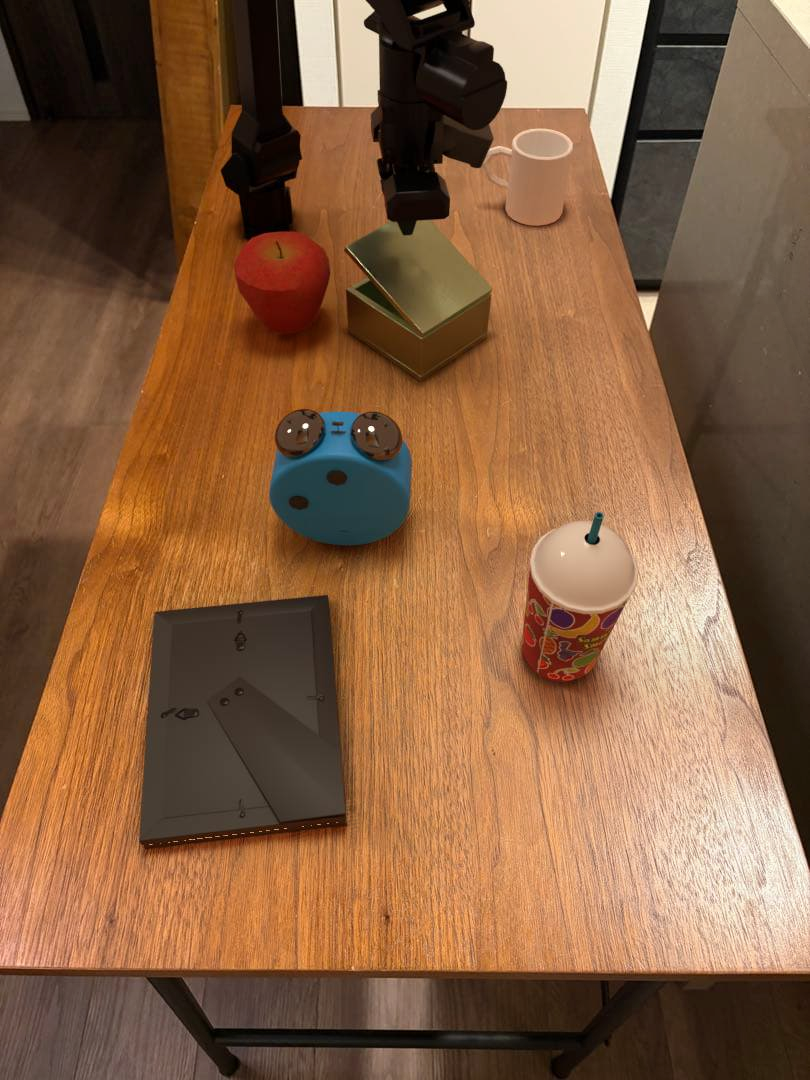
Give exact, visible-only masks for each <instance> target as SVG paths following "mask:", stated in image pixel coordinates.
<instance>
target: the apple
mask: <svg viewBox="0 0 810 1080" xmlns="http://www.w3.org/2000/svg"><path fill="white" fill-rule="evenodd" d="M233 269H234V274H235V275H234V276H235V280H236V284H237V289H238V292H239V293H240V294H241V296H242V298H243V299H244V301H245V302H246V303H247V305H248V306H249V308H250V310H251V311H252V312H253V314H254V316H256V318H257V319H258V321H259V322H260V323H261V324H262V326H263V327H264V328H266V330H268V331H269V332H271V333H276V334H281V335H285V336H286V335H293V334H296V333H299V332H301V331H304V330H305V329H308V328H309V327H310V326H311V325H312V324H313V323H314V322H315V320H316V318H317V315H318V314H319V311H320V309H321V307H322V304H323V302H324V298H325V295H326V292H327V289H328V286H329V282H330V277H331V267H330V259H329V257H328V255H327V252H326V251H325V249H324V248H323V247H322V246H321V245H319V244H318V243H317V242H315V241H314V240H313V239H312V238H310V237H309V236H308V235H306V234H304V233H301V232H296V231H291V232H272V233H264V234H261V235H259V236H256V237H251V238H250V239H249V240H248V242H246V244H245V245H243V247H242V249H241V250H240V251H239V252H238V254H237V255H236V258H235V261H234V262H233Z"/></svg>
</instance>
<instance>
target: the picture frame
mask: <svg viewBox="0 0 810 1080" xmlns="http://www.w3.org/2000/svg"><path fill="white" fill-rule="evenodd" d="M329 600H330V599H329V595H328V594H323V595H312V596H303V597H292V598H291V597H290V598H281V599H272V600H260V601H252V602H249V601H248V602H240V603H231V604H230V603H229V604H220V605H209V606H198V607H190V608H188V607H187V608H179V609H177V608H176V609H169V610H167V609H166V610H158V611H154V614H153V627H152V628H153V629H152V644H151V645H152V646H151V656H150V657H151V660H150V671H149V672H150V674H149V688H148V701H147V702H148V703H147V718H146V732H145V746H144V747H145V748H144V761H143V776H142V790H141V791H142V792H141V805H140V820H139V821H140V822H139V834H138V835H139V836H138V842H139V843H140V844H141V846H142V847H143V849H144V850H155V849H161V848H171V847H178V846H187V845H188V846H189V845H197V844H203V843H211V842H220V841H229V840H236V839H246V838H254V837H263V836H272V835H280V834H288V833H297V832H305V831H313V830H314V831H315V830H322V829H329V828H330V829H331V828H338V827H339V828H340V827H347V826H348V819H347V807H346V794H345V783H344V782H345V781H344V771H343V758H342V746H341V745H342V744H341V732H340V721H339V710H338V709H339V708H338V707H339V706H338V696H337V683H336V682H337V681H336V671H335V661H334V659H335V658H334V649H333V648H334V647H333V635H332V634H333V633H332V621H331V610H330V601H329ZM345 821H346V822H345ZM336 822H338V823H336ZM327 823H329V824H327ZM317 824H321V825H317ZM311 825H312V826H311ZM302 826H304V827H302ZM284 828H287V829H284ZM274 829H279V830H274ZM266 830H270V831H266ZM259 831H262V832H259ZM250 832H254V833H250ZM241 833H245V834H241ZM232 834H237V835H232ZM223 835H228V836H223ZM215 836H220V837H215ZM205 837H212V838H205ZM197 838H203V839H197ZM189 839H195V840H189ZM184 840H186V841H184ZM173 841H178V842H173ZM168 842H170V843H168ZM160 843H161V844H160ZM149 844H153V845H149ZM143 845H144V846H143Z"/></svg>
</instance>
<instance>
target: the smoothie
mask: <svg viewBox="0 0 810 1080" xmlns="http://www.w3.org/2000/svg"><path fill="white" fill-rule="evenodd" d="M604 517H605V515H604V513H603V512H602V511H597V512H595V513H594V516H593V520H590V519H579V520H577V519H576V520H573V521H569V522H565V523H563V524H560V525H559V526H558V527H556V528H553V529H551V530H549V531H548V532H546V533H545V534H544V535H542V536H541V537H539V538H538V540H537V542H536V543H535V545H534V546H533V547H532V549H531V554H530V558H529V573H528V581H527V590H526V591H527V592H526V599H525V600H526V601H525V607H524V608H525V610H524V618H523V626H522V627H523V628H522V635H521V644H520V645H521V649H522V655H523V657H524V659H525V660H526V662H527V664H528V665H529V667H531V668H532V670H533V671H534V672H535V673H536V674H538V675H539V676H540V677H542V678H544V679H546V680H547V681H551V682H557V683H565V682H566V683H567V682H570V681H575V680H577V679H580V678H583V677H585V676H586V675H587V674H588V673H590V672H591V671H592V670H593V668H594V666H595V664H596V663H597V660H598V659H599V657H600V655H601V653H602V652H603V649H604V647H605V645H606V643H607V641H608V639H609V638H610V636H611V633H612V632H613V630H614V628H615V627H616V624H617V622H618V621H619V619H620V616H621V614H622V613H623V610H624V608H625V606H626V604H627V603H628V601H629V600H630V598H631V596H632V595H633V593H634V591H635V589H636V588H637V586H638V581H639V573H640V572H639V567H638V565H637V561H636V558H635V556H634V554H633V553H632V552H631V549H630V547H629V546H628V544H627V543H626V541H625V539H624V538H623V537H622V535H620V534H619V532H617V531H615V529H614V528H612V527H610V526H608V525H606V524H604V523H603V520H604Z"/></svg>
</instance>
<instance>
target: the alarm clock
mask: <svg viewBox="0 0 810 1080" xmlns="http://www.w3.org/2000/svg"><path fill="white" fill-rule="evenodd" d="M274 444H275V447H276V453H275V458H274V463H273V468H272V473H271V479H270V484H269V490H268V491H269V493H268V494H269V501H270V502H269V503H270V506H271V508H272V510H273V512H274V513H275V515H276V516H277V517H278V520H280V521H281V523H283V525H285V526H286V527H287V528H289V529H290V530H292V531H293V532H295V533H296V534H298V535H300V536H302V537H304V538H307V539H309V540H311V541H316V542H318V543H321V544H327V545H333V546H360V545H366V544H370V543H375V542H378V541H380V540H382V539H385V538H387V537H388V536H390V535H392V534H394V533H395V532H396V531H397V530H399V528H400V527H402V525H403V524H404V522H405V521H406V519H407V517H408V514H409V512H410V507H411V493H412V491H411V490H412V473H413V460H412V455H411V452H410V449H409V447H408V445H407V443H406V442H405V440H404V439H403V434H402V430H401V428H400V427H399V425H398V424H397V422H396V421H395V420H394V419H393V418H392V417H390V416H389V415H387V414H385V413H382V412H380V411H367V412H363V413H357V412H352V411H339V410H338V411H337V410H336V411H324V412H319V413H318V412H317V411H315V410H313V409H311V408H310V409H308V408H301V409H300V408H299V409H295V410H293V411H291V412H289V413H288V414H287V415H285V416H284V417H283V418H282V419H281V420H280V421H279V423H278V425H277V426H276V429H275V433H274Z"/></svg>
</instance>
